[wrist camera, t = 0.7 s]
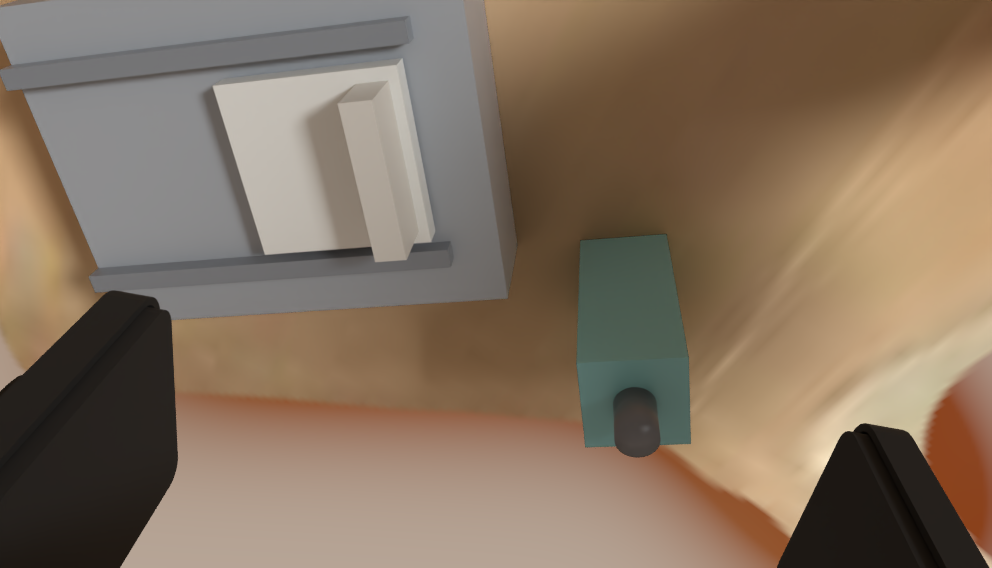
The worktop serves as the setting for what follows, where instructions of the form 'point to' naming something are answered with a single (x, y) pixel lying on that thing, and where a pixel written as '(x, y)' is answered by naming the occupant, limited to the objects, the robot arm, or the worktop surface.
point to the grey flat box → (209, 156)
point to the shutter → (330, 158)
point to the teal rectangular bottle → (631, 346)
